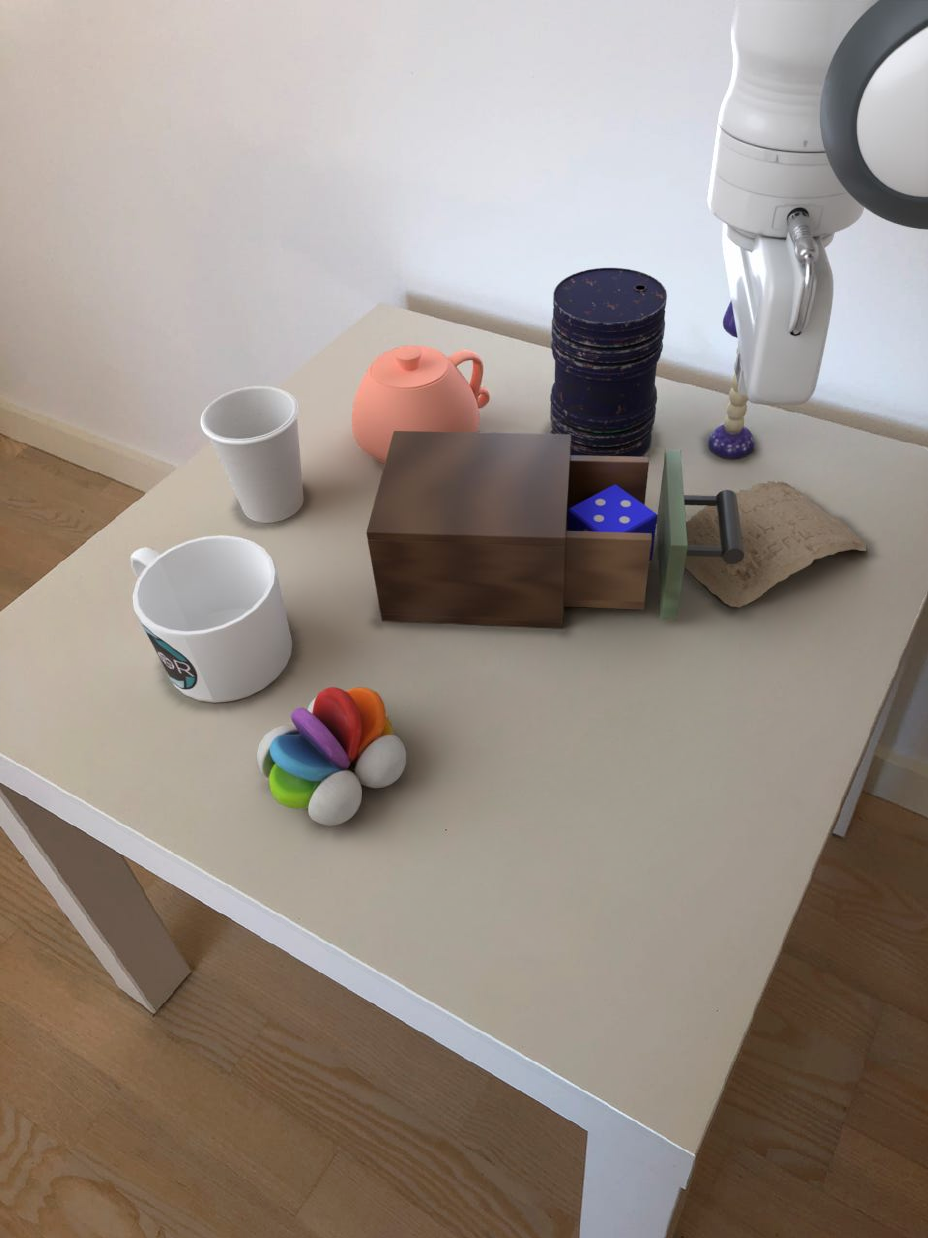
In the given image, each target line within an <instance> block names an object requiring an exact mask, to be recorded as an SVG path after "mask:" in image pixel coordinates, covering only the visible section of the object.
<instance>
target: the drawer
mask: <svg viewBox="0 0 928 1238" xmlns="http://www.w3.org/2000/svg"><path fill="white" fill-rule="evenodd" d="M681 451H682V450H681V449H665V451H664V458H663V467H662V475H661V483H660V490H659V491H660V492H659V499H658V509H657V524H656V541H657V542H656V543H657V564H658V565H657V566H658V587H659V589H658V590H659V611H660V612H659V613H660V620H666V621H667V620H670V621H676V620H677V617H678V612H679V605H680V599H681V592H682V586H683V579H684V573H685V560H686V556H703V557H722V558H723V560H724V561H725V562H726V563H728V564H736V563H739V562H741V561H742V560H743V558H744V548H743V541H742V533H741V526H740V518H739V511H738V503H737V496H736V494H735V493H736V492H735V491H734V490H732V489H724V490H723V489H722V490H721V491H719V492H718V493H717V494H716V495H701V494H700V495H699V494H698V495H696V494H694V495H693V494H685V490H684V478H683V476H684V475H683V463H682V452H681ZM649 467H650V457H649V456H643V457H634V456H588V455H570V468H569V486H568V504H567V522H566V541H565V575H564V607H571V608H572V607H574V608H597V609H598V608H599V609H621V610H623V609H624V610H644V609H645V603H646V602H645V601H646V593H647V585H648V578H649V577H648V576H649V568H650V562H649V561H650V553H651V544H652V534H651V533H624V532H592V531H568V510H569V509H570V508H571V507H573V506H575V505H577V504H579V503H581V502H583V501H584V500H586V499H588V498H590V497H592V496H594V495H596V494H598V493H599V492H601V491H603V490H605V489H607V488H609V487H611V486H613V485H617V486H618V487H620V488H621V489H623V490H624V491H625V492H627V493H628V494H630V495H631V496H632V497H634V498H635V499H637V500H638V501H639V502H641V503H642V504H643V505H645V504H646V495H647V485H648V478H649V477H648V476H649ZM716 504H717V513H718V522H719V531H720V540H721V547H716V546H688V543H687V529H686V522H687V518H686V506H704V507H705V506H716ZM645 506H646V505H645Z"/></svg>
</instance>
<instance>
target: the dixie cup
mask: <svg viewBox="0 0 928 1238" xmlns="http://www.w3.org/2000/svg"><path fill="white" fill-rule="evenodd" d="M299 413H300V405H299V402H298V400H297V399H296V397H294V396H293V395H292V393H290V392H288V391H286V390H284V389H283V388H282V389H281V388H279V387H275V386H269V385H251V386H245V387H239V388H236V389H233V390H230V391H227V392H225V393H223V394H221V395H219V396H218V397H216V398H215V399H214V400H212V401H211V402H210V403H209V404H208V405H207V406H206V408H205V409H204V410H203V412H202V414H201V416H200V427H201V429H202V431H203V433H204V434H205V435H206V436H207V437H208V439H209V441H210V443H211V446H212V448H213V450H214V452H215V454H216V456H217V459H218V460H219V462H220V465H221V467H222V469H223V471H224V473H225V475H226V477H227V479H228V482H229V484H230V486H231V488H232V490H233V492H234V494H235V496H236V498H237V501H238V503H239V505H240V507H241V509H242V511H243V513H244V515H245V516H246V517H247V518H248V519H250V520H251V521H254V522H256V523H262V524H273V523H278V522H282V521H285V520H288V519H289V518H291V517H293V516H294V515H295V514H297V513H298V512H299V511H300V510H301V508H302V506H303V504H304V489H303V487H304V486H303V473H302V463H301V451H300V436H299V424H298V416H299Z"/></svg>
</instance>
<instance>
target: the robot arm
mask: <svg viewBox="0 0 928 1238" xmlns="http://www.w3.org/2000/svg"><path fill="white" fill-rule="evenodd" d="M730 26H731V27H730V28H731V29H730V41H731V42H730V43H731V49H732V72H731V78H730V82H729V85H728V89H727V91H726V94H725V96H724V98H723V101H722V103H721V106H720V109H719V114H718V121H717V127H716V128H717V129H716V134H715V143H714V150H713V157H712V165H711V172H710V179H709V186H708V194H707V206H708V208H709V211H710V212H711V213H712V214H713V215H714V216H715V217H716V219H718V220H720V222H722V250H723V257H724V263H725V270H726V275H727V282H728V287H729V293H730V294H729V295H730V301H731V300H732V306H733V313H734V319H735V325H736V331H737V337H738V338H737V347H738V351H737V350H736V355H735V356H736V357H735V361H736V362H734V364H735V371H734V373H736V378H737V386H738V392H739V394H740V395H742V396H747V397H748V401H749V402H750V403H751V404H755V405H764V406H765V405H767V406H801V405H804V404H806V403H808V401H810V399H811V398H812V396H813V395H814V393H815V391H816V388H817V384H818V380H819V375H820V371H821V366H822V362H823V356H824V351H825V348H826V347H825V346H826V342H827V337H828V333H829V332H828V331H829V326H830V321H831V314H832V308H833V300H834V275H833V270H832V267H831V264H830V261H829V257H828V254H827V250H826V248H827V247H829V245H831V243H832V242H833V240H834V238H835V233H837V232H840V231H842V230H846V229H847V228H849V227H851V226H852V225H854V224H855V223H856V222H857V221H859V220H860V218H861V217H862V215H863V213H864V210H865V209H866V210H867V211H869V212H870V213H871V214H873V215H875V216H877V217H879V218H881V219H883V220H885V221H888V222H890V223H892V224H896V225H899V226H903V227H905V228H909V229H910V228H911V229H916V230H917V229H918V230H926V231H927V230H928V0H734V6H733V12H732V18H731V25H730Z"/></svg>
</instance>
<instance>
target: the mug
mask: <svg viewBox="0 0 928 1238" xmlns="http://www.w3.org/2000/svg"><path fill="white" fill-rule="evenodd" d="M129 560H130V565H131V568H132V571H133V573H134V575H135V576H136V578H137V580H136V582H135V586H134V589H133V593H132V604H133V605H132V606H133V610H134V612H135V614H136V616H137V618H138V620H139V622H140V624H141V626H142V628H143V630H144V631H145V634H146V635H147V637H148V639H149V641H150V643H151V645H152V647H153V648H154V651H155V653H156V655H157V656H158V658H159V660H160V662H161V664H162V666H163V668H164V670H165V672H166V673H167V676H168V678H169V679H170V681H171V682H172V684H173V686H174V687H175V689H177V690H178V691H179V692H180V693H182V694H183V695H184V696H187V697H189V698H191V699H194V700H196V701H199V702H207V703H215V704H217V703H226V702H233V701H238V700H241V699H244V698H245V699H246V698H248V697H251V696H252V695H254V694H256V693H258V692H261V691H263V690H264V689H265V688H266V687H268V686H269V685H271V684H272V683H273V682H274V681H275V680H277V679H278V677H279V676H280V675H281V673H283V671H284V670H285V669H286V667H287V665H288V663H289V661H290V658H291V656H292V649H293V640H292V635H291V630H290V626H289V621H288V617H287V612H286V607H285V603H284V599H283V594H282V588H281V584H280V580H279V575H278V570H277V566H276V564H275V560H274V558H272V556H271V555H270V554H269V552H268V551H267V550H266V549H265V548H264V547H262V546H261V545H259V544H258V543H257V542H254V541H253V540H249V539H246V538H243V537H240V536H232V535H223V534H220V535H207V536H202V537H198V538H194V539H190V540H187V541H186V540H185V541H184V542H182V543H180V544H177V545H175V546H173V547H170V548H169V549H167V550H166V551H164V552H162V553H161V554H160V553H159V552H157V551H156V550H154V549H153V548H150V547H147V546H145V547H140V548H138V549H136V550H135V551H134V552H132V553H131V554H130V559H129Z"/></svg>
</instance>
